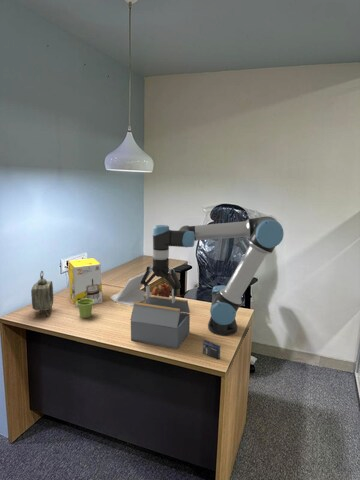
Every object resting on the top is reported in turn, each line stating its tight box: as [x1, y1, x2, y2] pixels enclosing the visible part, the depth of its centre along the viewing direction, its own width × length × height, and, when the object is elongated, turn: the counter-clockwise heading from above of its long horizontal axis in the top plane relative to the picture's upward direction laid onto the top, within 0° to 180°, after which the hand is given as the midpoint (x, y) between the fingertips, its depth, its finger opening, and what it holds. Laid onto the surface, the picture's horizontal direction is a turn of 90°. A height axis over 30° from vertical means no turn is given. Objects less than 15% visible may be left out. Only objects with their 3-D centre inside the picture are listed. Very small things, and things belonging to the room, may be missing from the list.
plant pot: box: [77, 299, 94, 319], centre depth 187 cm, size 9×9×9 cm
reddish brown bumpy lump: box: [151, 283, 172, 298], centre depth 197 cm, size 15×8×15 cm, turn 141°
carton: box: [130, 312, 191, 350], centre depth 164 cm, size 24×18×10 cm
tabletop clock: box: [30, 270, 54, 317], centre depth 189 cm, size 14×9×25 cm, turn 12°
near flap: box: [129, 302, 181, 328], centre depth 156 cm, size 24×9×1 cm
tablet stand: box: [110, 270, 153, 307], centre depth 216 cm, size 18×25×17 cm
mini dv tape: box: [202, 339, 221, 360], centre depth 147 cm, size 8×2×6 cm, turn 51°
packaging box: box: [67, 257, 103, 308], centre depth 208 cm, size 16×16×25 cm
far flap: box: [143, 294, 191, 314], centre depth 169 cm, size 24×9×1 cm
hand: (160, 300), depth 162 cm, fingers open, 13 cm apart
